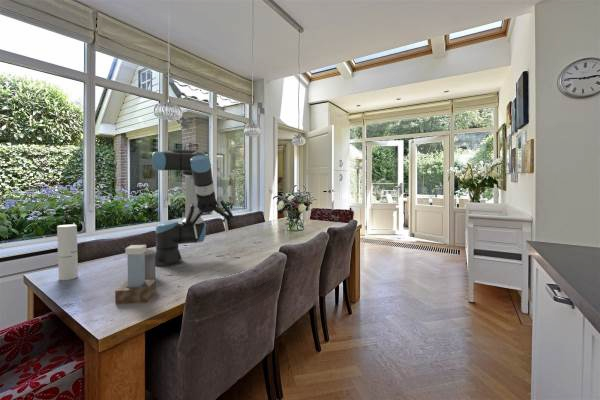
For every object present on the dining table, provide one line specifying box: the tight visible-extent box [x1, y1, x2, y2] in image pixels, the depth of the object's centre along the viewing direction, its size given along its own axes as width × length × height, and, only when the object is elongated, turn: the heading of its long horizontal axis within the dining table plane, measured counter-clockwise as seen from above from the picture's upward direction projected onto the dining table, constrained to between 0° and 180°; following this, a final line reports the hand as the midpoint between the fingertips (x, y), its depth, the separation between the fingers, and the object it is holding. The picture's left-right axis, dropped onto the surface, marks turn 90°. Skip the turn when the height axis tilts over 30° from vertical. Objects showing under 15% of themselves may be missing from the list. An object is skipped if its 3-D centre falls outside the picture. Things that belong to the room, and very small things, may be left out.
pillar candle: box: [145, 249, 156, 280], centre depth 134 cm, size 10×10×15 cm
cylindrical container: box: [56, 224, 79, 281], centre depth 135 cm, size 7×7×25 cm
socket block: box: [114, 279, 157, 305], centre depth 113 cm, size 11×11×6 cm
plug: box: [124, 244, 147, 288], centre depth 113 cm, size 6×6×20 cm
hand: (212, 233), depth 130 cm, fingers open, 13 cm apart
